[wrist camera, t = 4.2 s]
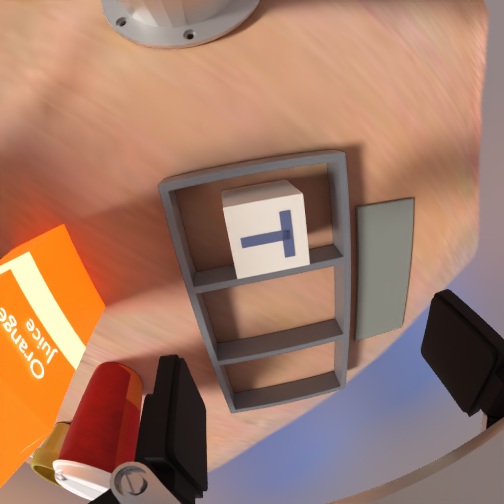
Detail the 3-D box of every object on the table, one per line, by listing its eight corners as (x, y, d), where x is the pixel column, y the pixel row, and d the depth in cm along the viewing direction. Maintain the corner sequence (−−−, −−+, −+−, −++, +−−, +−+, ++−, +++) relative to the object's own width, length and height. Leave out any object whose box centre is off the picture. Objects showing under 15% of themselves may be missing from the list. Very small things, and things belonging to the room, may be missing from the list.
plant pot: (107, 454, 37) (100, 500, 28) (56, 440, 35) (44, 482, 26) (95, 425, 33) (82, 478, 24) (37, 408, 31) (19, 456, 22)
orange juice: (52, 321, 25) (-26, 479, 7) (11, 249, 22) (-114, 386, 3) (107, 306, 25) (33, 505, 7) (65, 222, 22) (-94, 391, 3)
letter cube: (221, 190, 22) (222, 208, 18) (285, 179, 23) (302, 193, 18) (233, 249, 24) (237, 279, 20) (292, 238, 25) (309, 264, 20)
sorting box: (163, 178, 21) (157, 185, 19) (332, 149, 22) (345, 152, 20) (229, 396, 32) (231, 413, 30) (338, 373, 32) (345, 388, 30)
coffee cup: (75, 373, 29) (39, 477, 15) (107, 342, 27) (66, 467, 13) (129, 409, 32) (113, 510, 18) (167, 384, 30) (157, 505, 16)
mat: (355, 206, 24) (357, 208, 24) (411, 197, 24) (413, 199, 24) (354, 339, 30) (355, 341, 30) (399, 325, 30) (401, 327, 30)
